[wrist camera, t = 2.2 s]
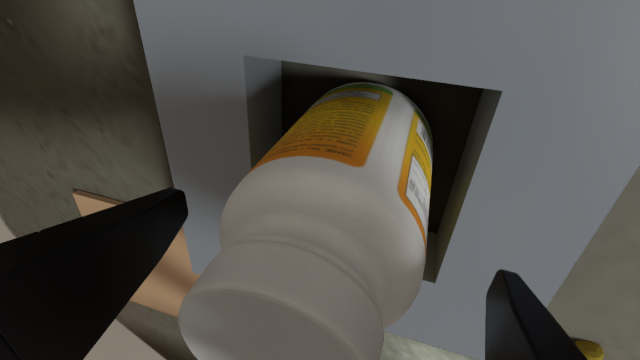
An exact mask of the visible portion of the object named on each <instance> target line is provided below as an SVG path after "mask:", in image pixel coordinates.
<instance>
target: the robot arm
mask: <svg viewBox="0 0 640 360" xmlns="http://www.w3.org/2000/svg"><path fill="white" fill-rule="evenodd" d="M187 217H188V206H187V201H186V196H185V193H184V191H182V190H180V189H175V188H167V189H164V190H161V191H158V192H155V193H152V194H149V195H146V196H143V197H140V198H137V199H134V200H131V201H128V202H125V203H122V204H119V205H116V206H113V207H110V208H107V209H104V210H101V211H98V212H95V213H92V214H89V215H86V216H83V217H80V218H77V219H74V220H71V221H68V222H65V223H62V224H58V225H55V226H52V227H49V228H46V229H43V230H41V231H39V232H34V233H31V234H28V235H25V236H22V237H19V238H16V239H13V240H10V241H6V242H3V243H0V360H83V359H84V358H85V356H86V355H87V354H88V353H89V351H90V350H91V349H92V348H93V346H94V345H95V344H96V342H97V341H98V339H100V337H101V336H102V335H103V333H104V332H105V331H106V330H107V328H108V327H109V326H110V324H111V323H112V322H113V321H114V319H115V318H116V317H117V315H118V314H119V313H120V312H121V310H122V309H123V308H124V307H125V305H126V304H127V303H128V301H129V300H130V299H131V298H132V296H133V295H134V294H135V292H136V291H137V290H138V289H139V287H140V286H141V285H142V283H143V282H144V281H145V280H146V278H147V277H148V276H149V274H150V273H151V272H152V271H153V269H154V268H155V267H156V266H157V264H158V263H159V261H160V260H161V259H162V257H163V256H164V254H165V253H166V251H167V250H168V248H169V247H170V245H171V243H172V242H173V240H174V239H175V237H176V235H177V234H178V232H179V231H180V229H181V227H182V226H183V224H184V223H185V221H186V219H187ZM485 360H588V359H587V358H586V357H585V355H584V354H583V353H582V352H581V350H580V349H579V348H578V347H577V345H576V344H575V343H574V342H573V341H572V339H571V338H570V337H569V336H568V334H567V333H566V332H565V331H564V330H563V328H562V327H561V326H560V325H559V323H558V322H557V321H556V320H555V318H554V317H553V316H552V315H551V314H550V312H549V311H548V310H547V309H546V307H545V306H544V305H543V304H542V303H541V301H540V300H539V299H538V298H537V296H536V295H535V294H534V293H533V291H532V290H531V289H530V288H529V287H528V285H527V284H526V283H525V282H524V280H523V279H522V278H521V277H520V276H519V275H518V274H517V273H515V272H512V271H508V270H504V269H500V270H498V271H497V272H496V274H495V276H494V278H493V280H492V282H491V284H490V286H489V289H488V291H487V295H486V315H485Z"/></svg>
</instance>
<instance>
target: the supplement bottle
mask: <svg viewBox="0 0 640 360" xmlns="http://www.w3.org/2000/svg"><path fill="white" fill-rule="evenodd" d="M432 164H433V140H432V134H431V130H430V127H429V125H428V122H427V120H426V118H425V116H424V115H423V113H422V112H421V110H420V109H419V108H418V106H417V105H416V104H415V103H414V102H413V101H412V100H411V99H409V98H408V97H407V96H406V95H404V94H403V93H401V92H399V91H397V90H395V89H393V88H391V87H388V86H386V85H382V84H377V83H371V82H354V83H349V84H345V85H341V86H339V87H336V88H334V89H332V90H330V91H329V92H327V93H326V94H324V95H323V96H322V97H321V98H319V99H318V100H317V101H316V102H315V103H314V104H313V105H312V106H311V107H310V108H309V109H308V110H307V111H306V112H305V114H304V115H303V116H302V117H301V118H300V119H299V120H298V121H297V122H296V123H295V124H294V125H293V126H292V127H291V128H290V129H289V130H288V132H287V133H286V134H285V135H284V136H283V137H282V138H281V139H280V140H279V141H278V142H277V143H276V144H275V145H274V146H273V147H272V148H271V149H270V150H269V152H268V153H267V154H266V155H265V156H264V157H263V158H262V159H261V160H260V161H259V162H258V163H257V164H256V165H255V166H254V167H253V168H252V169H251V170H250V171H249V173H248V174H247V175H246V176H245V177H244V178H243V179H242V180H241V182H240V183H239V184H238V186H237V187H236V188H235V190H234V191H233V192H232V194H231V195H230V197H229V198H228V200H227V202H226V204H225V207H224V209H223V212H222V217H221V222H220V244H221V250H222V251H221V252H220V253H219V254H218V255H217V256H216V257H215V258H214V259H213V260H212V261H211V262H210V264H209V265H208V266H207V268H206V269H205V271H204V272H203V273H202V275H201V276H200V277H199V279H198V280H197V281H196V283H195V284H194V286H193V287H192V288H191V290H190V291H189V292H188V294H187V295H186V296H185V298H184V300H183V301H182V304H181V306H180V309H179V313H178V323H179V328H180V331H181V334H182V336H183V338H184V340H185V342H186V344H187V346H188V347H189V349H190V351H191V352H192V353H193V354H194V356H195V357H196V358H197V359H198V360H379V359H380V353H381V350H382V347H383V341H384V331H383V329H385V328H387V327H389V326H390V325H392V324H393V323H395V322H396V321H398V320H399V319H400V318H401V317H402V316H403V315H404V314H405V313H406V312H407V311H408V309H409V308H410V307H411V305H412V303H413V302H414V300H415V298H416V296H417V294H418V292H419V289H420V286H421V283H422V279H423V273H424V267H425V260H426V246H427V231H428V216H429V202H430V190H431V176H432Z"/></svg>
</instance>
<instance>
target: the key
mask: <svg viewBox="0 0 640 360" xmlns="http://www.w3.org/2000/svg"><path fill="white" fill-rule="evenodd" d="M574 343H575V344H576V345H577V347H578V348H579V349H580V350H581V352H582V353H583V354H584V355H585V357H586V358H587V359H588V360H602V359H603V357H604V352H603V350H602V348H601V347H600V345H599V344H597V343H593V342H589V341H584V340H577V341H575V342H574Z"/></svg>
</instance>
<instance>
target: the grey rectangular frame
mask: <svg viewBox="0 0 640 360" xmlns="http://www.w3.org/2000/svg"><path fill="white" fill-rule="evenodd" d="M133 2H134V6H135V11H136V15H137V20H138V25H139V29H140V34H141V38H142V43H143V47H144V52H145V56H146V61H147V66H148V70H149V75H150V79H151V84H152V88H153V93H154V98H155V102H156V107H157V111H158V116H159V120H160V125H161V129H162V134H163V139H164V143H165V148H166V152H167V157H168V161H169V166H170V171H171V175H172V180H173V184H174V188H175V189H180V190H182V191H184V193H185V196H186V201H187V206H188V217H187V219H186V221H185V223H184V224H183V230H184V234H185V239H186V244H187V248H188V253H189V257H190V262H191V266H192V271H193V273H196V274H199V275H202V273H203V272H204V271H205V269H206V268H207V266H208V265H209V264H210V262H211V261H212V260H213V259H214V258H215V257H216V256H217V255H218V254H219V253H220V252H221V251H222V250H221V244H220V222H221V217H222V212H223V209H224V207H225V204H226V202H227V200H228V198H229V197H230V195H231V194H232V192H233V191H234V190H235V188H236V187H237V186H238V184H239V183H240V182H241V180H242V179H243V178H244V177H245V176H246V175H247V174H248V173H249V171H250V170H251V169H252V168H253V167H254V166H255V165H256V164H257V163H258V162H259V161H260V160H261V159H262V158H263V157H264V156H265V155H266V154H267V153H268V152H269V150H270V149H271V148H272V147H273V146H274V145H275V144H276V143H277V142H278V141H279V140H280V139H281V138H282V67H281V60H282V61H289V62H296V63H303V64H311V65H318V66H325V67H332V68H340V69H347V70H354V71H361V72H368V73H376V74H383V75H390V76H397V77H405V78H412V79H419V80H426V81H433V82H441V83H448V84H455V85H462V86H470V87H477V88H483V91H482V94H481V97H480V100H479V103H478V106H477V109H476V113H475V116H474V119H473V122H472V125H471V128H470V131H469V135H468V138H467V141H466V144H465V147H464V150H463V153H462V157H461V160H460V163H459V166H458V169H457V172H456V175H455V179H454V182H453V185H452V188H451V191H450V194H449V197H448V201H447V204H446V207H445V210H444V213H443V216H442V219H441V223H440V226H439V229H438V232H437V233H433V232H429V231H427V246H426V260H425V267H424V273H423V279H422V283H421V286H420V289H419V292H418V294H417V296H416V298H415V300H414V302H413V303H412V305H411V307H410V308H409V309H408V311H407V312H406V313H405V314H404V315H403V316H402V317H401V318H400V319H399V320H398V321H396V322H395V323H393V324H392V325H390V326H389V327H387V328H385V329H383V331H386V332H389V333H392V334H395V335H399V336H402V337H405V338H408V339H412V340H415V341H418V342H421V343H425V344H428V345H431V346H435V347H438V348H441V349H444V350H448V351H451V352H454V353H457V354H461V355H464V356H467V357H470V358H474V359H477V360H485V315H486V295H487V291H488V289H489V286H490V284H491V282H492V280H493V278H494V276H495V274H496V272H497V271H498V270H500V269H504V270H508V271H512V272H515V273H517V274H518V275H519V276H520V277H521V278H522V279H523V280H524V282H525V283H526V284H527V285H528V287H529V288H530V289H531V290H532V291H533V293H534V294H535V295H536V296H537V298H538V299H539V300H540V301H541V303H542V304H543V305H544V306H545V307H547V306H548V304H549V303H550V301H551V300H552V298H553V297H554V295H555V293H556V292H557V290H558V289H559V287H560V286H561V284H562V283H563V281H564V280H565V278H566V277H567V275H568V274H569V272H570V271H571V269H572V267H573V266H574V264H575V263H576V261H577V260H578V258H579V257H580V255H581V254H582V252H583V251H584V249H585V248H586V246H587V245H588V243H589V241H590V240H591V238H592V237H593V235H594V234H595V232H596V231H597V229H598V228H599V226H600V225H601V223H602V222H603V220H604V219H605V217H606V216H607V214H608V212H609V211H610V209H611V208H612V206H613V205H614V203H615V202H616V200H617V199H618V197H619V196H620V194H621V193H622V191H623V190H624V188H625V186H626V185H627V183H628V182H629V180H630V179H631V177H632V176H633V174H634V173H635V171H636V170H637V168H638V167H639V165H640V0H133Z"/></svg>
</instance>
